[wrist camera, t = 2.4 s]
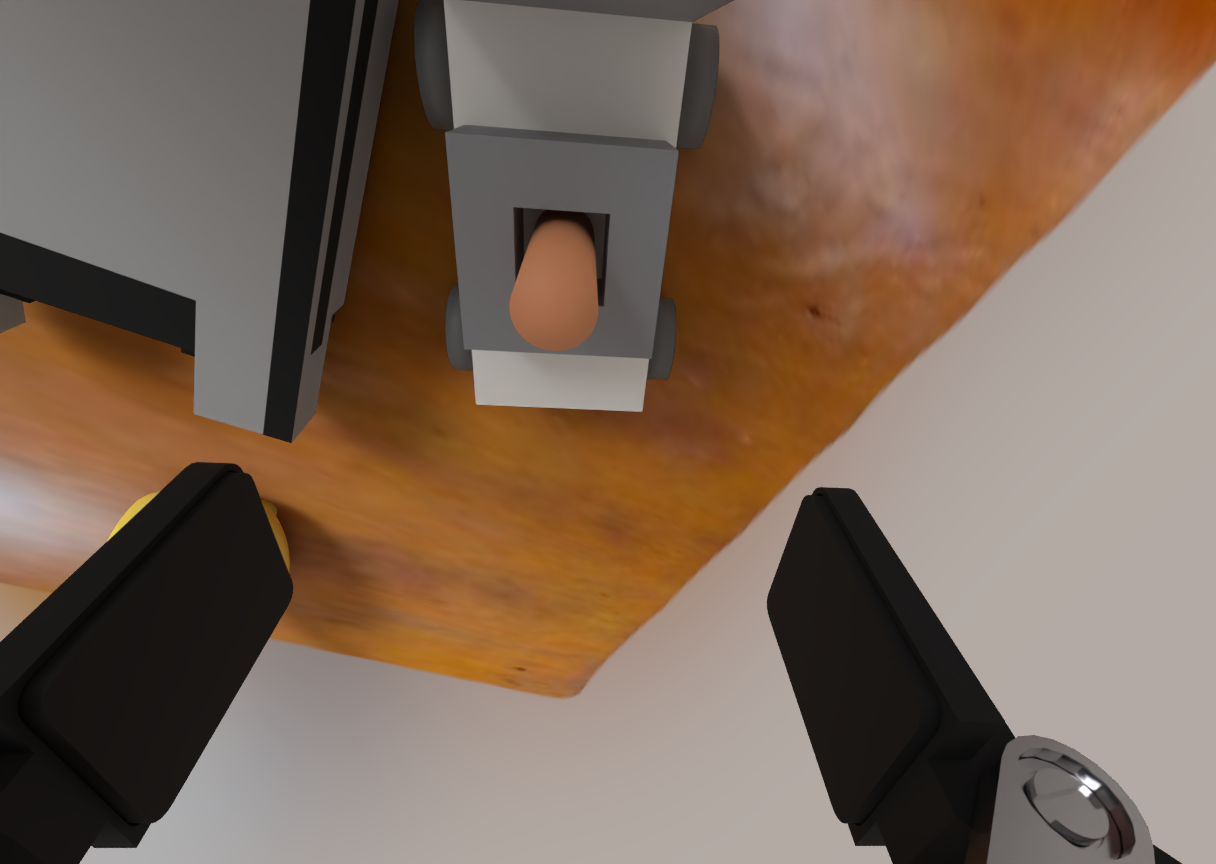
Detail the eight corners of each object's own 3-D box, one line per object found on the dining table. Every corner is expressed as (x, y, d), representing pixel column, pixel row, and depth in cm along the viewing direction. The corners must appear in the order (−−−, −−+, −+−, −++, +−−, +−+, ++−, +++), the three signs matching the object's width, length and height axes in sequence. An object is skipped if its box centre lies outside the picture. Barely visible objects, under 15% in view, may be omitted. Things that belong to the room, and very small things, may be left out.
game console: (-24, 265, 31) (-193, 317, 25) (-231, -735, 15) (-873, -1375, 9) (337, 385, 37) (281, 455, 30) (461, -266, 21) (401, -433, 14)
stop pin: (533, 201, 25) (507, 263, 17) (596, 206, 25) (601, 268, 17) (534, 265, 27) (510, 348, 18) (592, 268, 27) (595, 353, 19)
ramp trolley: (434, -23, 25) (308, -108, 13) (707, 4, 25) (802, -55, 14) (467, 361, 36) (413, 491, 24) (656, 371, 37) (687, 500, 25)
